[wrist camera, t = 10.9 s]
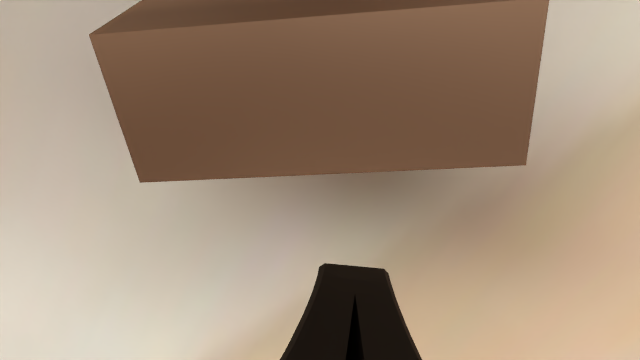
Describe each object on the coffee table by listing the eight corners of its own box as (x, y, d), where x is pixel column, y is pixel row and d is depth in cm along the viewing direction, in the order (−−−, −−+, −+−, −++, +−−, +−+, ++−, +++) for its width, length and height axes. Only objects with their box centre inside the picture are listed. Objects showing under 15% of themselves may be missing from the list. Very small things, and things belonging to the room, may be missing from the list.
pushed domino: (237, -62, 12) (89, 35, 6) (443, -83, 12) (549, -3, 5) (251, 20, 13) (140, 182, 7) (440, 4, 13) (525, 165, 6)
